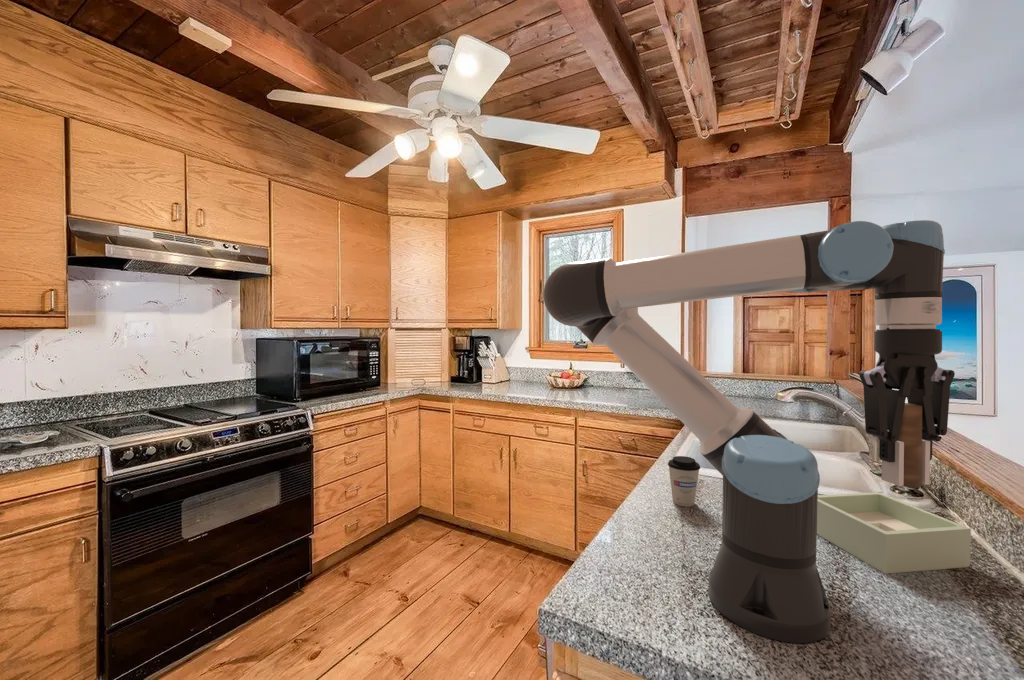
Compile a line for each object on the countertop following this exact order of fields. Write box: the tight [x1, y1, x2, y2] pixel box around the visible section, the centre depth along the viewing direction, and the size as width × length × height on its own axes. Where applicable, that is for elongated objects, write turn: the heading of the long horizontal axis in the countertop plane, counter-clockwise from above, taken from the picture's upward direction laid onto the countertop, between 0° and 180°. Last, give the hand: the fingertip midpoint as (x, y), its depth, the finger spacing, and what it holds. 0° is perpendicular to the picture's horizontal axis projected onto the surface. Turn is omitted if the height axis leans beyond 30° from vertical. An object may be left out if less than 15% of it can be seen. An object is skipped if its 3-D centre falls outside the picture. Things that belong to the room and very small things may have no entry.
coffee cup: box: [667, 455, 701, 508], centre depth 99 cm, size 7×7×10 cm
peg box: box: [817, 491, 972, 575], centre depth 79 cm, size 16×16×6 cm
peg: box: [898, 402, 922, 489], centre depth 65 cm, size 4×4×12 cm
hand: (905, 481), depth 65 cm, fingers closed on peg, 3 cm apart
